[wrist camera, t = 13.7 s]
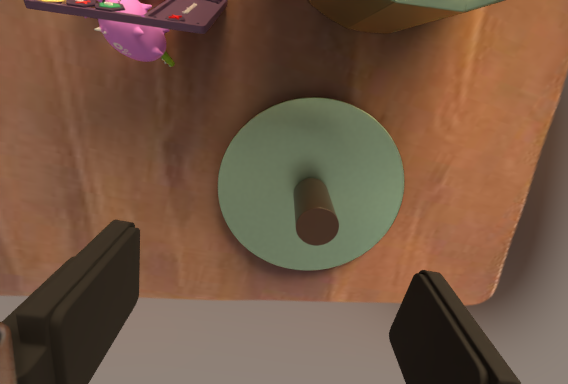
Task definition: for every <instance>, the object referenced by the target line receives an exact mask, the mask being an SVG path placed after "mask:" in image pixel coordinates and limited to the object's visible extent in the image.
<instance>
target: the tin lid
mask: <svg viewBox="0 0 568 384" xmlns="http://www.w3.org/2000/svg"><path fill="white" fill-rule="evenodd" d="M403 193H404V169H403V165H402V160H401V157H400V154H399V151H398V149H397V147H396V145H395V143H394V141H393V139H392V138H391V136H390V135H389V134H388V132H387V131H386V130H385V128H384V127H383V126H382V125H381V124H380V123H379V122H378V121H377V120H376V119H375V118H373V117H372V116H370V115H369V114H368V113H366V112H365V111H363V110H361V109H359V108H357V107H356V106H354V105H352V104H349V103H346V102H343V101H340V100H336V99H331V98H326V97H303V98H296V99H291V100H287V101H284V102H281V103H278V104H275V105H273V106H271V107H269V108H267V109H265V110H263V111H261V112H260V113H259V114H257V115H256V116H254V117H253V118H252V119H250V120H249V121H248V122H247V123H246V124H245V125H244V126H243V127H242V128H241V129H240V130H239V132H238V133H237V134H236V135H235V137H234V138H233V139H232V141H231V143H230V144H229V146H228V148H227V150H226V152H225V154H224V157H223V159H222V162H221V166H220V170H219V176H218V198H219V204H220V208H221V211H222V214H223V217H224V219H225V221H226V223H227V225H228V227H229V228H230V230H231V231H232V233H233V235H234V236H235V237H236V238H237V239H238V240H239V242H240V243H241V244H242V245H243V246H244V247H246V248H247V249H248V250H249V251H250V252H252V253H253V254H255V255H256V256H258V257H259V258H261V259H263V260H265V261H267V262H269V263H272V264H274V265H277V266H280V267H284V268H288V269H294V270H308V271H309V270H322V269H328V268H332V267H336V266H339V265H342V264H345V263H347V262H350V261H352V260H354V259H356V258H357V257H359V256H361V255H362V254H364V253H365V252H367V251H368V250H370V249H371V248H372V247H373V246H374V245H375V244H377V243H378V242H379V241H380V239H381V238H382V237H383V236H384V235H385V234H386V232H387V231H388V230H389V228H390V227H391V225H392V224H393V222H394V220H395V218H396V216H397V214H398V211H399V208H400V206H401V202H402V198H403Z"/></svg>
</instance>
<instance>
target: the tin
mask: <svg viewBox="0 0 568 384" xmlns="http://www.w3.org/2000/svg"><path fill="white" fill-rule="evenodd" d="M308 1H309V3H310V4H311V5H312V6H313V7H315V8H316V9H317V10H318V11H320V12H321V13H322V14H323V15H325V16H326V17H327V18H329V19H331V20H333V21H334V22H336V23H338V24H340V25H342V26H343V27H345V28H347V29H354V30H358V31H363V32H374V33H383V34H388V33H392V32H396V31H399V30H403V29H406V28H410V27H414V26H417V25H421V24H425V23H428V22H432V21H435V20H439V19H443V18H446V17H450V16H454V15H457V14H461V13H464V12H468V11H471V10H475V9H478V8H481V7H485V6H488V5H491V4H495V3H498V2H501V1H505V0H308Z"/></svg>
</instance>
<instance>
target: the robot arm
mask: <svg viewBox="0 0 568 384" xmlns="http://www.w3.org/2000/svg"><path fill="white" fill-rule="evenodd" d="M139 267H140V230H139V228H135V225H134V223H132V222H126V221H120V220H113V221H112V222H111V223H110V224H109V225H108V226H107V227H106V228H105V229H104V230H102V231H101V232H100V233H99V234H98V235H97V236H96V237H95V238H94V239H93V240H92V241H91V242H90V243H89V244H88V245H87V246H86V247H85V248H84V249H83V250H81V251H80V252H79V253H78V254H77V255H76V256H74V257H72V258H70V259H69V260H68V261H66V262H65V263H64V264H63V265H62V266H61V267H60V268H59V269H58V270H57V271H56V272H55V273H54V274H53V275H51V276H50V277H49V278H48V279H47V280H46V281H45V282H44V283H43V284H42V285H41V286H40V287H39V288H38V289H37V290H35V291H34V292H33V293H32V294H31V295H30V296H29V297H28V298H27V299H26V300H25V301H24V302H23V303H22V304H21V305H20V306H18V307H17V308H16V309H15V310H14V311H13V312H12V313H11V314H10V315H9V316H8V317H7V318H6V319H5V320H4V321H2V322H0V384H88V383H89V382H90V380H91V378H92V377H93V375H94V373H95V372H96V370H97V368H98V367H99V365H100V363H101V362H102V360H103V358H104V357H105V355H106V353H107V351H108V350H109V348H110V347H111V345H112V343H113V342H114V340H115V338H116V337H117V335H118V333H119V331H120V330H121V328H122V326H123V325H124V323H125V321H126V320H127V318H128V316H129V315H130V313H131V311H132V310H133V308H134V306H135V304H136V302H137V300H138V297H139ZM389 339H390V342H391V345H392V348H393V350H394V353H395V356H396V358H397V361H398V364H399V366H400V369H401V371H402V374H403V377H404V379H405V382H406V384H521V382H520V381H519V380H518V378H517V377H516V375H515V374H514V373H513V371H512V370H511V369H510V367H509V366H508V365H507V363H506V362H505V360H504V359H503V358H502V356H501V355H500V354H499V352H498V351H497V350H496V348H495V347H494V345H493V344H492V343H491V341H490V340H489V339H488V337H487V336H486V335H485V333H484V332H483V330H482V329H481V328H480V326H479V325H478V324H477V322H476V321H475V320H474V318H473V317H472V316H471V314H470V313H469V311H468V310H467V309H466V307H465V306H464V305H463V303H462V302H461V300H460V299H459V298H458V296H457V295H456V294H455V292H454V291H453V290H452V288H451V287H450V285H449V284H448V283H447V281H446V280H445V279H444V277H443V276H442V275H441V274H440V273H438V272H432V271H425V270H422V271H420V272H419V274H418V273H417V274H415V275H414V276H413V279H412V281H411V283H410V285H409V288H408V290H407V292H406V294H405V297H404V299H403V301H402V304H401V306H400V308H399V310H398V313H397V315H396V317H395V319H394V322H393V324H392V326H391V329H390V332H389Z"/></svg>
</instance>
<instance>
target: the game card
mask: <svg viewBox="0 0 568 384" xmlns="http://www.w3.org/2000/svg"><path fill="white" fill-rule="evenodd" d="M64 1H66V4H61V3H62V2H64ZM97 1H99V2H100V3H96V0H24V3H25V5H26V8H29V9H35V10H42V11H49V12H56V13H62V14H69V15H76V16H83V17H85V18H87V17H90V18H97V19H98V22H99V28H95V29H94V30H96V31H101V32H102V34H103V35H104V37H105V38H106V40H107V41H108V42H109V43H110V45H111V46H113V47H114V48H115V49H116V50H117V51H119V52H120V53H122V54H124V55H125V56H127V57H130V58H132V59H135V60H138V61H145V62H149V61H154V60H157V59H159V58H160V57H161V59H162V61H163V60H165V62H164V63H165V64H166V63H168V64H169V65H168V66H170V67H173V66H174V65H175V63H174V61H173V60H172V58H171V57H170V56H169V55H168V53H167V52H166V51H165V50H166V39H165V36H164V33H167V32H169V29H172V30H178V31H185V32H192V33H199V34H205V33H206V32H207V31H208V30H209V28H210V27H211V26H212V25H213V23H214V22H215V21H216V20H217V18H218V17H219V16H220V15H221V13H222V12H223V11H224V10H225V8H226V7H227V0H166V1H164V2H162V3H161V4H159V5H158V6H156V7H155V8H153V9H152V10H150V11H149V12H147V11H148V10H149V9H150V8H151V7H152V5H147V4H142V3H140V2H139V1H138V0H97ZM93 6H95V8H96V9H95V8H87V7H93Z"/></svg>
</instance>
